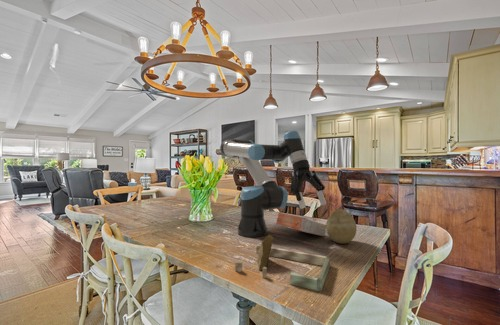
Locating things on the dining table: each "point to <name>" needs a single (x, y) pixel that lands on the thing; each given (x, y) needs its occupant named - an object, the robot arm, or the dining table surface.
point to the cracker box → (301, 224)
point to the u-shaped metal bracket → (302, 257)
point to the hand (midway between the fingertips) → (314, 206)
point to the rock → (264, 252)
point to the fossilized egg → (341, 226)
